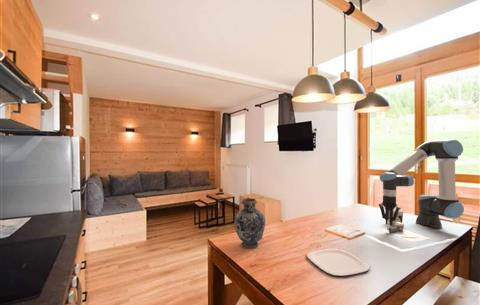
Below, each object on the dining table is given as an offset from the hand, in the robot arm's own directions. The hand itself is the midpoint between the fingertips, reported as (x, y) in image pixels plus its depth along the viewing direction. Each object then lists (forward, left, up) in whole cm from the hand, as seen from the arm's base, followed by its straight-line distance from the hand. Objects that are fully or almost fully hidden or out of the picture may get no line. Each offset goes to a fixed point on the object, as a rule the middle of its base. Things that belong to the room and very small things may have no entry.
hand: (389, 229), depth 152 cm
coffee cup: (-21, -11, -4) cm, 24 cm away
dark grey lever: (-5, +1, -2) cm, 6 cm away
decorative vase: (+95, -18, -3) cm, 97 cm away
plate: (+61, +17, -4) cm, 63 cm away
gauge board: (-7, +5, -3) cm, 9 cm away
